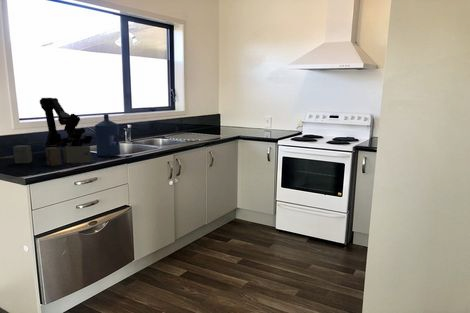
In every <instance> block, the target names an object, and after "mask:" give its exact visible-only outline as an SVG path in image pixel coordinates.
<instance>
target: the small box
mask: <svg viewBox="0 0 470 313" xmlns="http://www.w3.org/2000/svg"><path fill="white" fill-rule="evenodd" d="M12 150H13V157H14V163H15V164H29V163H32V162H33V155H32V148H31V144H24V145H22V144H21V145H15V146H12Z"/></svg>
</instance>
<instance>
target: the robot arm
mask: <svg viewBox="0 0 470 313" xmlns="http://www.w3.org/2000/svg"><path fill="white" fill-rule="evenodd" d="M39 104H40V106H41V109H42V110H43V111H44V114H45V118H46V124H47V131H48V133H47V137H46V139H47V140H46V141H45V143H44V144H45V147H46V148H51V147H57V148H59V147H62V148H63V147H68V144H70V146H83V144H84V145H87V144H88V145H89V144H90V143H91V142H92V140H93V136H92V135H91V134H89V135H88V134H87V135H84V137H82V136H83V134H85V133H86V128H85V127H81V128H76V127H78V125H79V123H80V121H81V117H80V116H78V115H76V114H75V113H71V114H69V113H68V112H66V111H65V110H64V108H63V107H62V105H61V103H60V102H59V99H58V98H57V97H41V98H40V99H39ZM54 112H55V113H56V114H57V117H58V119H57V120H58V123H59V124H60V125H61V126H64V127H63V131H64V132H66V134H67V137H61V136H62V135H61V133H59V132H58V131H57V126H56V121H55V120H56V119H55V116H54Z"/></svg>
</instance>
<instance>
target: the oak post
mask: <svg viewBox="0 0 470 313" xmlns="http://www.w3.org/2000/svg"><path fill="white" fill-rule="evenodd" d="M61 155H62V153H61V148H60V147H58V148H57V147H51V148H48V147H46V148H45V156H46V157H45V158H46V164H47V165H48V166H52V167H54V166H61V165H62V156H61Z"/></svg>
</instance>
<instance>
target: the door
mask: <svg viewBox="0 0 470 313" xmlns="http://www.w3.org/2000/svg"><path fill="white" fill-rule="evenodd" d="M62 153H63V163H64V164H70V163H71V164H72V163H73V164H74V163H77V164H78V163H91V162H92V156H91V146H90V145H82V146H71V145H70V146H69V145H67V146H65V147H62Z"/></svg>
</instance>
